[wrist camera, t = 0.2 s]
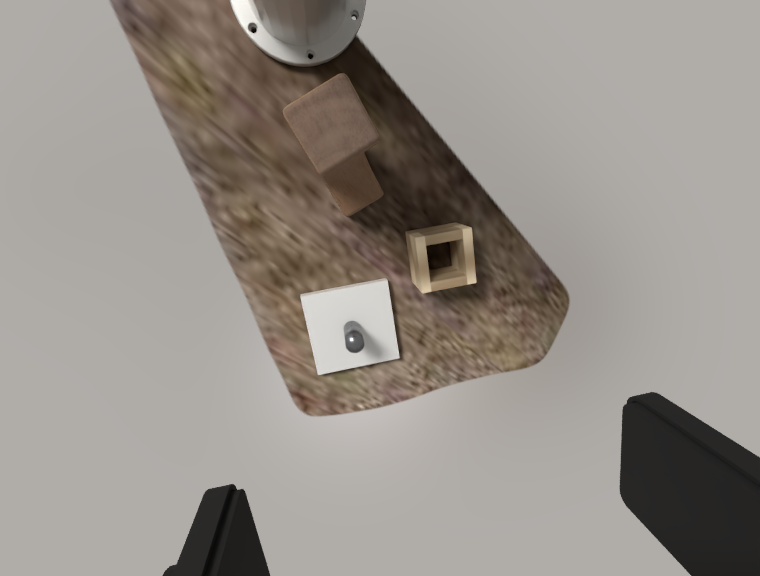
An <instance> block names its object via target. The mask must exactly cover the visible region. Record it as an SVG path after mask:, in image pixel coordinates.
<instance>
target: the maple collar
mask: <svg viewBox="0 0 760 576" xmlns="http://www.w3.org/2000/svg"><path fill="white" fill-rule="evenodd" d="M405 233H406V240H407V248H408V255H409V262H410V270H411V277H412V282H413V283H414V284H415V285H416V287H417V288H418V289H419V290H420V291H421V292H422V293H427V292H432V291H437V290H443V289H448V288H453V287H458V286H463V285H468V284H473V283H476V272H475V260H474V248H473V237H472V228H471V227H468V226H465V225H462V224H459V223H456V222H455V223H450V224H444V225H439V226H433V227H427V228H422V229H416V230H411V231H405ZM443 242H449V243H450V252H451V262H452V266H447V267H442V268H437V269H432V270H429V267H428V259H427V251H426V246H427V245H433V244H438V243H443Z"/></svg>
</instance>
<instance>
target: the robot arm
mask: <svg viewBox="0 0 760 576" xmlns="http://www.w3.org/2000/svg"><path fill="white" fill-rule="evenodd" d="M230 3H231V6H232V9H233V12H234V14H235V16H236V18H237V20H238V22H239V24H240V26H241V27H242V29H243V30H244V32H245V34H246V35H247V36H248V37H249V38H250V40H251V41H252V42H253V43H254V44H255V45H256V46H257V47H258V48H259V49H260V50H262V51H263V52H264V53H265V54H266V55H268V56H270V57H272V58H274V59H275V60H277V61H279V62H282V63H285V64H288V65H292V66H300V67H308V66H317V65H320V64H323V63H326V62H328V61H330V60H332V59H334V58H336V57H337V56H338V55H340V54H341V53H342V52H343V51H344V50H345V49H346V48H347V47H348V46H349V45H350V43H351V42H352V41H353V39H354V38H355V36H356V34H357V32H358V30H359V28H360V25H361V22H362V19H363V15H364V10H365V4H366V0H230ZM352 16H355V17H356V20H352V19H351V17H352ZM252 29H256V30H257V32H256V33H252ZM308 55H313V59H309V58H308ZM620 494H621V497H622V499H623V501H624V503H625V504H626V506H627V507H628V508H629V509H630V510H631V512H632V513H633V514H634V515H635V516H636V517H637V518H638V519H639V520H640V521H641V522H642V523H643V524H644V525H645V526H646V528H647V529H648V530H649V531H650V532H651V533H652V534H653V535H654V536H655V537H656V538H657V539H658V540H659V542H660V543H661V544H662V545H663V546H664V547H665V548H666V549H667V550H668V551H669V552H670V553H671V554H672V555H673V557H674V558H675V559H676V560H677V561H678V562H679V563H680V564H681V565H682V566H683V567H684V568H685V569H686V570H687V572H688V573H689V574H690V575H691V576H760V458H759V457H758V456H756V455H755V454H753V453H752V452H750V451H748V450H747V449H745V448H744V447H742V446H741V445H739V444H737V443H736V442H734V441H733V440H731V439H729V438H728V437H726V436H725V435H723V434H722V433H720V432H718V431H717V430H715V429H714V428H712V427H710V426H709V425H707V424H706V423H704V422H702V421H701V420H699V419H698V418H696V417H695V416H693V415H691V414H690V413H688V412H687V411H685V410H683V409H682V408H680V407H679V406H677V405H676V404H674V403H672V402H670V401H669V400H668V399H666V398H664V397H663V396H661V395H660V394H657V393H654V392H651V393H646V394H642V395H637V396H633V397H630V398H629V399H628V400H627V404H626V405H624V407H623V415H622V443H621V471H620ZM163 576H270V573H269V570H268V566H267V563H266V560H265V556H264V553H263V550H262V547H261V543H260V540H259V536H258V533H257V530H256V526H255V523H254V520H253V517H252V513H251V510H250V507H249V503H248V500H247V497H246V493H245V491H244V490H243V489H240V490H237V489H236V486H235V485H234V484H230V485H226V486H222V487H217V488H212V489H208V490H207V491H206V492H205V494H204V495H203V498H202V501H201V503H200V506H199V508H198V511H197V513H196V516H195V519H194V521H193V524H192V526H191V529H190V531H189V534H188V537H187V539H186V542H185V544H184V547H183V550H182V552H181V555H180V557H179V560H178V562H177V565H173V566H170V567H169V568H168V569H167V570H166V571H165V572H164V574H163Z"/></svg>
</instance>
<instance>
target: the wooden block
mask: <svg viewBox="0 0 760 576" xmlns="http://www.w3.org/2000/svg"><path fill="white" fill-rule="evenodd" d="M283 113H284V117H285V119H286V120H287V122H288V124H289V125H290V127H291V129H292V130H293V132H294V134H295V135H296V137H297V139H298V140H299V142H300V144H301V145H302V147H303V149H304V150H305V152H306V154H307V155H308V157H309V158H310V160H311V162H312V163H313V165H314V167H315V168H316V170H317V172H318V173H319V174H320V176H321V177H322V179H323V180H324V182H325V184H326V185H327V187H328V189H329V190H330V192H331V194H332V195H333V197H334V199H335V200H336V202H337V204H338V205H339V207H340V209H341V210H342V212H343V213H344V215H345V216H346V217H349V216H351V215H353V214H355V213H356V212H358V211H360V210H361V209H363V208H365V207H366V206H368V205H370V204H371V203H373V202H375V201H376V200H378V199H380V198H381V197H382V196H383V195H384V194H383V190H382V188H381V187H380V185H379V183H378V181H377V179H376V177H375V175H374V173H373V171H372V170H371V167H370V165H369V163H368V160H367V158H366V155H365V151H367V150H368V149H370V148H371V147H373V146H374V145H376V144H377V143H378V141H379V140H380V139H379V134H378V132H377V130H376V128H375V126H374V124H373V122H372V121H371V119H370V117H369V115H368V113H367V111H366V109H365V107H364V106H363V104H362V102H361V100H360V98H359V96H358V94H357V92H356V91H355V89H354V87H353V85H352V83H351V81H350V79H349V77H348V76H347V75H346V74H344V73H341V74H338V75H336V76H334V77H333V78H331V79H329V80H328V81H326V82H325V83H323V84H321V85H320V86H318V87H317V88H315V89H313V90H312V91H310V92H308V93H307V94H305V95H304V96H302V97H300V98H299V99H297V100H295V101H294V102H292V103H291V104H289V105H287V106H286V107H285V109H284V110H283Z"/></svg>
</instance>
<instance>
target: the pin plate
mask: <svg viewBox="0 0 760 576" xmlns="http://www.w3.org/2000/svg"><path fill="white" fill-rule="evenodd" d="M300 297H301V302H302V306H303V310H304V315H305V319H306V323H307V328H308V332H309V337H310V341H311V345H312V350H313V354H314V359H315V363H316V367H317V372H318V375H321V374H326V373H331V372H336V371H340V370H345V369H350V368H355V367H360V366H364V365H369V364H374V363H379V362H384V361H388V360H393V359H398V358H400V357H399V351H398V345H397V338H396V332H395V325H394V319H393V313H392V306H391V300H390V293H389V287H388V280H387V279H386V278H384V279H379V280H373V281H368V282H363V283H358V284H352V285H347V286H342V287H336V288H331V289H326V290H321V291H315V292H310V293H305V294H301V296H300Z"/></svg>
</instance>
